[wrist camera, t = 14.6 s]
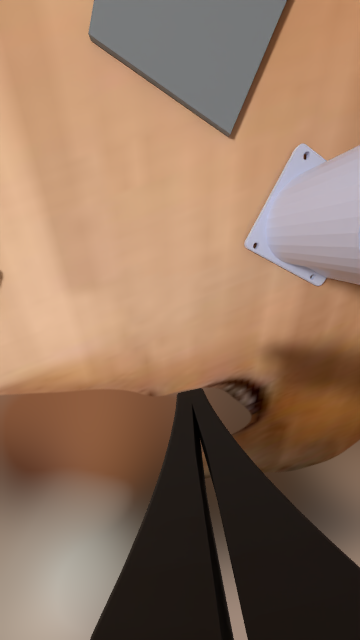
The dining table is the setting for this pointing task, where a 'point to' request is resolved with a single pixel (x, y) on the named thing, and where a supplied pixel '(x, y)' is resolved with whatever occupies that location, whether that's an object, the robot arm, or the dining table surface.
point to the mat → (191, 48)
